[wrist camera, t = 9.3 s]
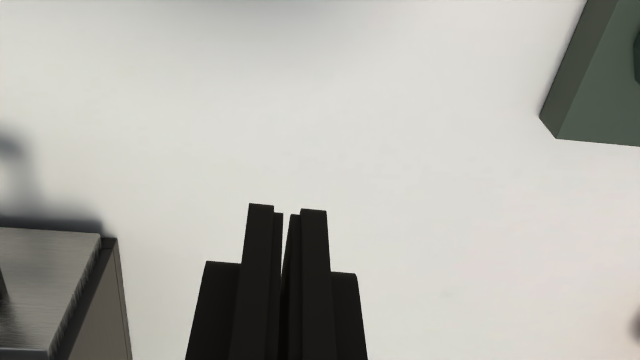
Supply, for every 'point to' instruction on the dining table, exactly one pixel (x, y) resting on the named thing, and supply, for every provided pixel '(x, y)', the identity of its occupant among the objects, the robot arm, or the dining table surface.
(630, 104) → the control block
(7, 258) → the drawer
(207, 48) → the dining table surface
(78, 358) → the cabinet
